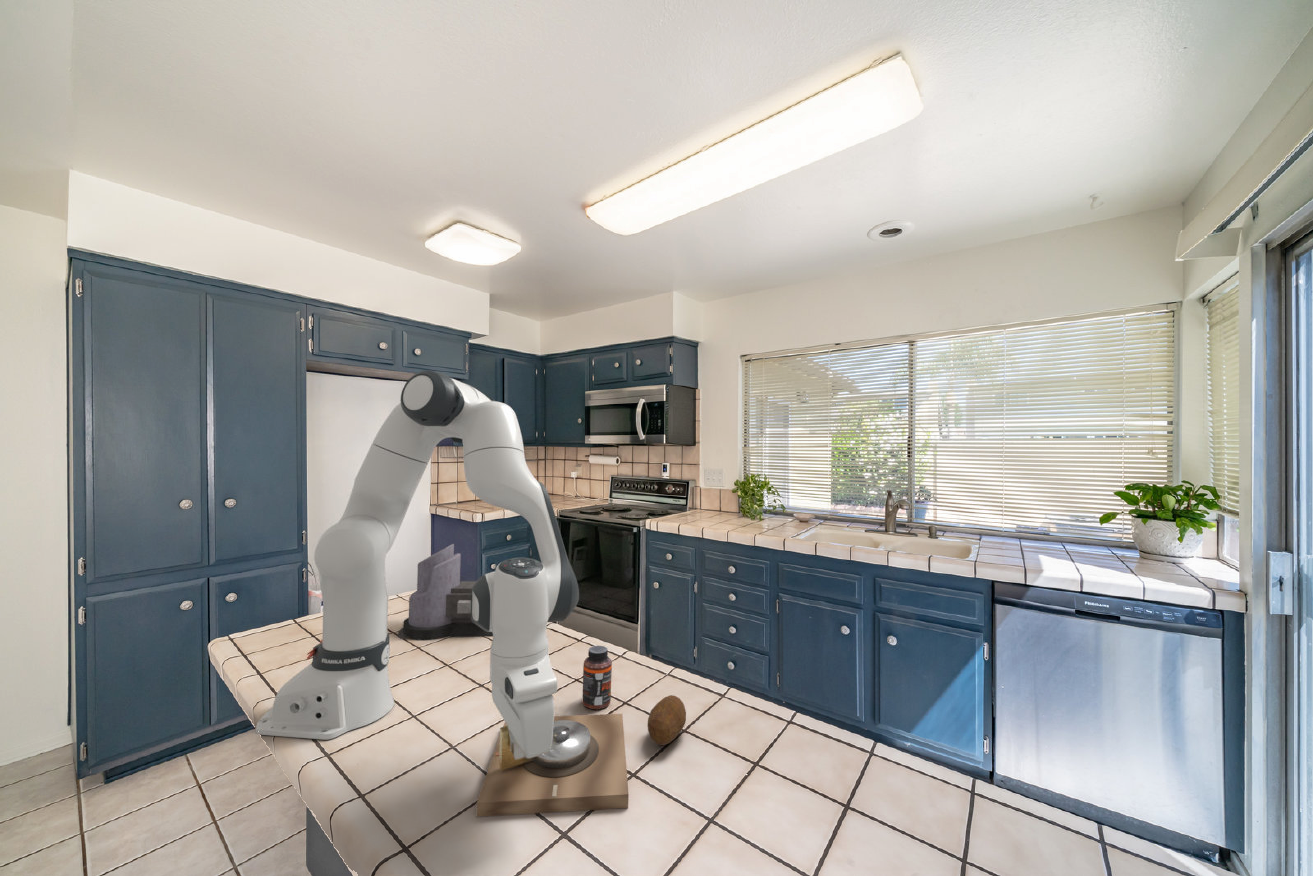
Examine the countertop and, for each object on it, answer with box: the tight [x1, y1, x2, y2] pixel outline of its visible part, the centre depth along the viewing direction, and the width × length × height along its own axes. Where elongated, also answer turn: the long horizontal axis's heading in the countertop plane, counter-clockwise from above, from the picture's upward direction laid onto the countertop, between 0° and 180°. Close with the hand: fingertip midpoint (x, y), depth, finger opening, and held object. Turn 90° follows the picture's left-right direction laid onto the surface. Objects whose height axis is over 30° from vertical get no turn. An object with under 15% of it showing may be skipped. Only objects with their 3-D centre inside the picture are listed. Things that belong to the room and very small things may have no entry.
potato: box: [647, 694, 687, 746], centre depth 91 cm, size 7×12×7 cm, turn 165°
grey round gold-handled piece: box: [499, 720, 590, 770], centre depth 82 cm, size 15×10×6 cm, turn 122°
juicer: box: [397, 543, 493, 641], centre depth 141 cm, size 30×16×24 cm, turn 95°
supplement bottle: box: [581, 645, 613, 710], centre depth 103 cm, size 6×6×11 cm
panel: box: [475, 713, 630, 818], centre depth 83 cm, size 22×22×2 cm
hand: (518, 754), depth 77 cm, fingers closed
